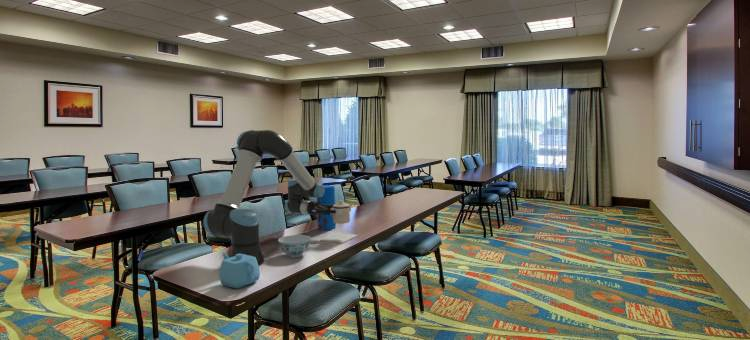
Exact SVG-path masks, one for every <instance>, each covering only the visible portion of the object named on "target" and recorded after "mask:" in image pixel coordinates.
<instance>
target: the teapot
mask: <svg viewBox="0 0 750 340" xmlns="http://www.w3.org/2000/svg"><path fill="white" fill-rule="evenodd" d="M221 255H222V257H223V260H222V261H221V266H220V269H219V282H220V283H221V285H223V286H225V287H229V288H234V289H242V288H243V287H244V286H248V285H252V284H254V283H255V282H257V281H259V280H260V276H261V274H260V267H259V266H260V265H258V262H257V260H256V257H254V256H249V255H244V254H236V255H235V256H234V257H230V258H229V255H228V254H227V253H226V252H221Z"/></svg>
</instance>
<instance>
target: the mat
mask: <svg viewBox="0 0 750 340" xmlns="http://www.w3.org/2000/svg"><path fill="white" fill-rule="evenodd" d="M358 236H359V235H358V234H354V233H353V234H352V233H342V232H334V233H331V234H330V235H327V236H325V237H323V238H321V239H319V240H320V242H329V243H337V244H345V243H348V242H349V241H351V240H353V239H355V238H357V237H358Z"/></svg>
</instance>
